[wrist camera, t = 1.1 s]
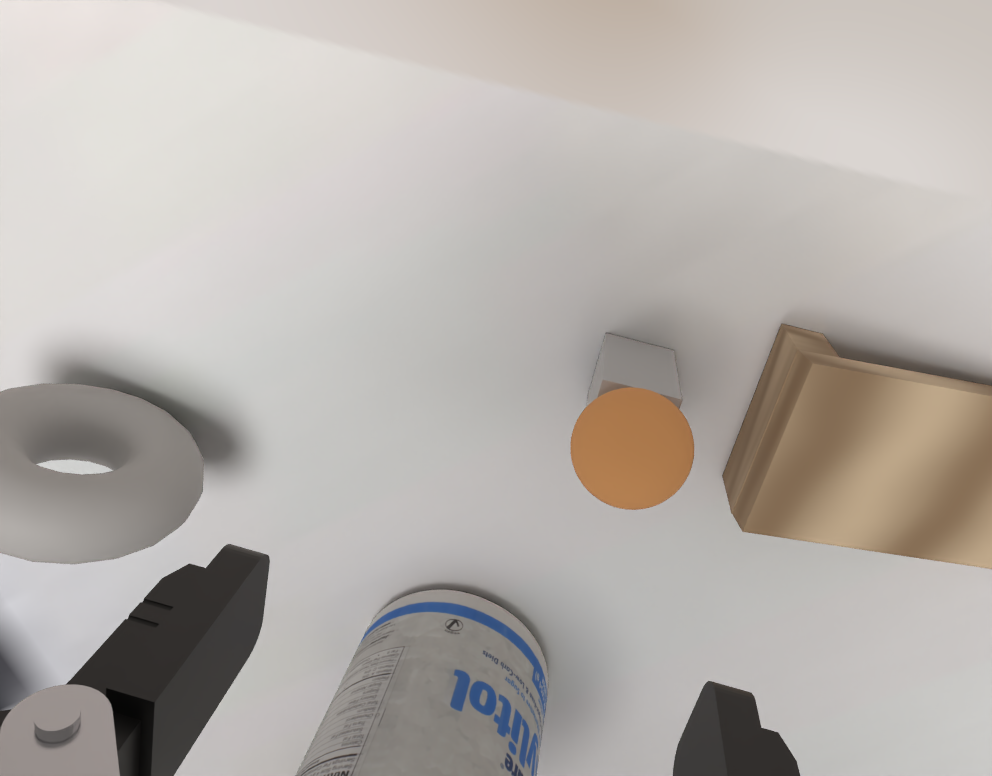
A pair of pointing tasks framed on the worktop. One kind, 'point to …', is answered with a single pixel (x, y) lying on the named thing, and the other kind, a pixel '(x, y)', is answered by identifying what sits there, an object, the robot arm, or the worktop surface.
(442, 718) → the supplement tub
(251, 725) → the worktop surface
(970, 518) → the ramp
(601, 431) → the ball
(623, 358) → the hollow grey box
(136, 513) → the donut
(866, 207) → the worktop surface
